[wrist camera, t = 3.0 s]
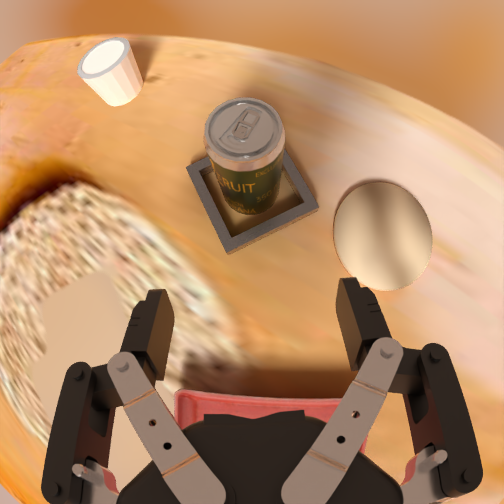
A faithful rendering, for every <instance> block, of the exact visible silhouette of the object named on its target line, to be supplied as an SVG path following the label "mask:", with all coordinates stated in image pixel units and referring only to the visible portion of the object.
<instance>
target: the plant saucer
mask: <svg viewBox="0 0 504 504" xmlns="http://www.w3.org/2000/svg"><path fill="white" fill-rule="evenodd" d="M341 400H342V398H272V397H255V396H241V395H231V394H220V393H211V392H204V391H196V390H189V389H180V390H178V391H176V392H175V396H174V407H175V410H174V418H175V419H176V421H177V422H178V424H179V425H180V426H181V428H182V429H184V428H186V427H187V426H189V425H191V424H193V423H195V422H198V421H201V420H203V419H204V414H231V415H235V416H240V417H245V418H250V419H256V418H260V417H264V416H267V415H270V414H274V413H277V412H283V411H294V410H304V411H305V416H311V417H315V418H318V419H321V420H323V421H325V422H326V423H328V421H329V419H330V418H331V416H332V415H333V413H334V411H335V410H336V408H337V407H338V405H339V403H340V402H341ZM367 437H368V434H367V436H366V438H365V440H364V442H363V443H362V445H361V447H360V449H359V451H361V452H362V453H363V454H364V452H365V447H366V442H367Z"/></svg>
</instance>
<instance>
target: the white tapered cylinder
mask: <svg viewBox="0 0 504 504" xmlns="http://www.w3.org/2000/svg"><path fill="white" fill-rule="evenodd" d="M77 68H78V75H79V76H80V77H81V78H82V79H83V80H84V81H85V82H86V83H87V84H88V85H89V86H90V87H91V88H92V89H93V90H94V91H95V92H96V93H97V94H98V95H99V96H100V97H101V98H102V99H103V100H104V101H105V102H106V103H107V104H108V105H111V106H120V105H124V104H126V103H128V102H130V101H131V100H132V99H134V98H135V97H136V96H137V95H138V93H139V92H140V91H141V89H142V86H143V80H142V77H141V74H140V71H139V69H138V66H137V63H136V60H135V58H134V55H133V52H132V49H131V47H130V44H129V41H128V40H126V39H125V38H119V37H115V38H111V39H107V40H105V41H103V42H101V43H99V44H97V45H95V46H94V47H93V48H91V49H90V50H89V51H88V52H87V53H86V54H85V55H84V56H83V58H82V59H81V61H80V63H79V65H78V67H77Z"/></svg>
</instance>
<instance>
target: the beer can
mask: <svg viewBox="0 0 504 504" xmlns="http://www.w3.org/2000/svg"><path fill="white" fill-rule="evenodd" d="M204 144H205V148H206V151H207V154H208V157H209V159H210V162H211V164H212V167H213V169H214V172H215V175H216V177H217V180H218V182H219V185H220V187H221V190H222V193H223V195H224V198H225V200H226V202H227V203H228V204H229V206H230V207H231V208H232V209H234V210H235V211H237V212H239V213H242V214H245V215H255V214H259V213H262V212H264V211H266V210H267V209H269V208H270V207H271V206H272V205H273V203H274V202H275V201H276V198H277V195H278V192H279V185H280V177H281V170H282V162H283V154H284V146H285V129H284V127H283V125H282V121H281V119H280V116H279V114H278V112H277V111H276V110H275V109H274V108H273V107H272V106H271V105H269V104H267V103H266V102H264V101H262V100H259V99H255V98H250V97H246V98H235V99H232V100H228V101H226V102H224V103H222V104H221V105H219V106H217V107H216V108H215V109H214V110H213V112H212V113H211V114H210V115H209V117H208V119H207V121H206V123H205V133H204Z"/></svg>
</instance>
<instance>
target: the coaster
mask: <svg viewBox="0 0 504 504" xmlns="http://www.w3.org/2000/svg"><path fill="white" fill-rule="evenodd" d="M333 239H334V245H335V249H336V252H337V255H338V257H339V259H340V261H341V263H342V265H343V266H344V268H345V269H346V270H347V272H348V273H349V274H350V275H351V276H352V277H356V278H357V280H358V282H359V283H361V284H363V285H365V286H367V287H369V288H372V289H376V290H382V291H390V290H397V289H401V288H404V287H406V286H408V285H410V284H411V283H413V282H414V281H415V280H416V279H417V278H418V277H419V276H420V275H421V274H422V273H423V271H424V270H425V268H426V266H427V264H428V262H429V259H430V256H431V252H432V231H431V226H430V223H429V220H428V217H427V215H426V213H425V211H424V209H423V208H422V206H421V205H420V203H419V202H418V201H417V200H416V199H415V198H414V197H413V196H412V195H411V194H410V193H409V192H407V191H406V190H404V189H403V188H400V187H398V186H396V185H393V184H390V183H385V182H373V183H368V184H365V185H362V186H360V187H358V188H356V189H355V190H353V191H352V192H351V193H350V194H349V195H348V196H347V197H346V198H345V199H344V201H343V202H342V204H341V205H340V207H339V209H338V211H337V213H336V216H335V220H334V227H333Z"/></svg>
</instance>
